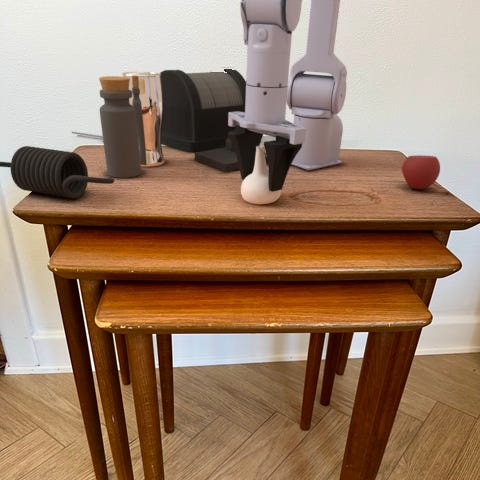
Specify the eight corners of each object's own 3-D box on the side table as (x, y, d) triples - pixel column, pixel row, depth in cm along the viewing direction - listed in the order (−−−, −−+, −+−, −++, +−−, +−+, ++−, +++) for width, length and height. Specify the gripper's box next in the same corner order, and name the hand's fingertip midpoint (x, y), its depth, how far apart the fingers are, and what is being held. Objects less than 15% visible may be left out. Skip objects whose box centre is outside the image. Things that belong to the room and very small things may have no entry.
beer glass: (141, 169, 83) (133, 76, 75) (123, 161, 88) (113, 72, 79) (173, 164, 87) (169, 74, 79) (154, 156, 91) (149, 70, 83)
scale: (242, 150, 97) (243, 135, 96) (276, 162, 91) (278, 146, 89) (192, 159, 91) (192, 143, 89) (225, 172, 84) (225, 155, 82)
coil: (127, 189, 71) (95, 236, 70) (32, 134, 75) (1, 178, 75) (106, 165, 64) (71, 217, 63) (3, 106, 68) (-31, 155, 68)
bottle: (108, 178, 78) (95, 79, 70) (106, 169, 83) (95, 75, 74) (142, 177, 79) (134, 80, 71) (139, 168, 84) (131, 75, 76)
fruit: (395, 193, 78) (446, 196, 74) (400, 157, 75) (453, 159, 72) (401, 188, 82) (449, 191, 79) (406, 154, 80) (455, 156, 77)
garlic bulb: (289, 201, 71) (293, 148, 67) (258, 209, 68) (261, 153, 63) (262, 190, 75) (265, 139, 71) (232, 197, 72) (233, 144, 68)
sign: (79, 128, 107) (133, 136, 102) (80, 132, 107) (134, 140, 102) (63, 132, 103) (119, 140, 98) (64, 136, 103) (120, 145, 98)
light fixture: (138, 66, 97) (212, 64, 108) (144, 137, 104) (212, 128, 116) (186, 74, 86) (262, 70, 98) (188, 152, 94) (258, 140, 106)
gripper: (212, 80, 65) (212, 176, 73) (281, 93, 56) (273, 202, 63) (250, 78, 69) (246, 170, 77) (321, 90, 60) (309, 193, 67)
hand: (261, 184), depth 70 cm, fingers closed on garlic bulb, 6 cm apart
